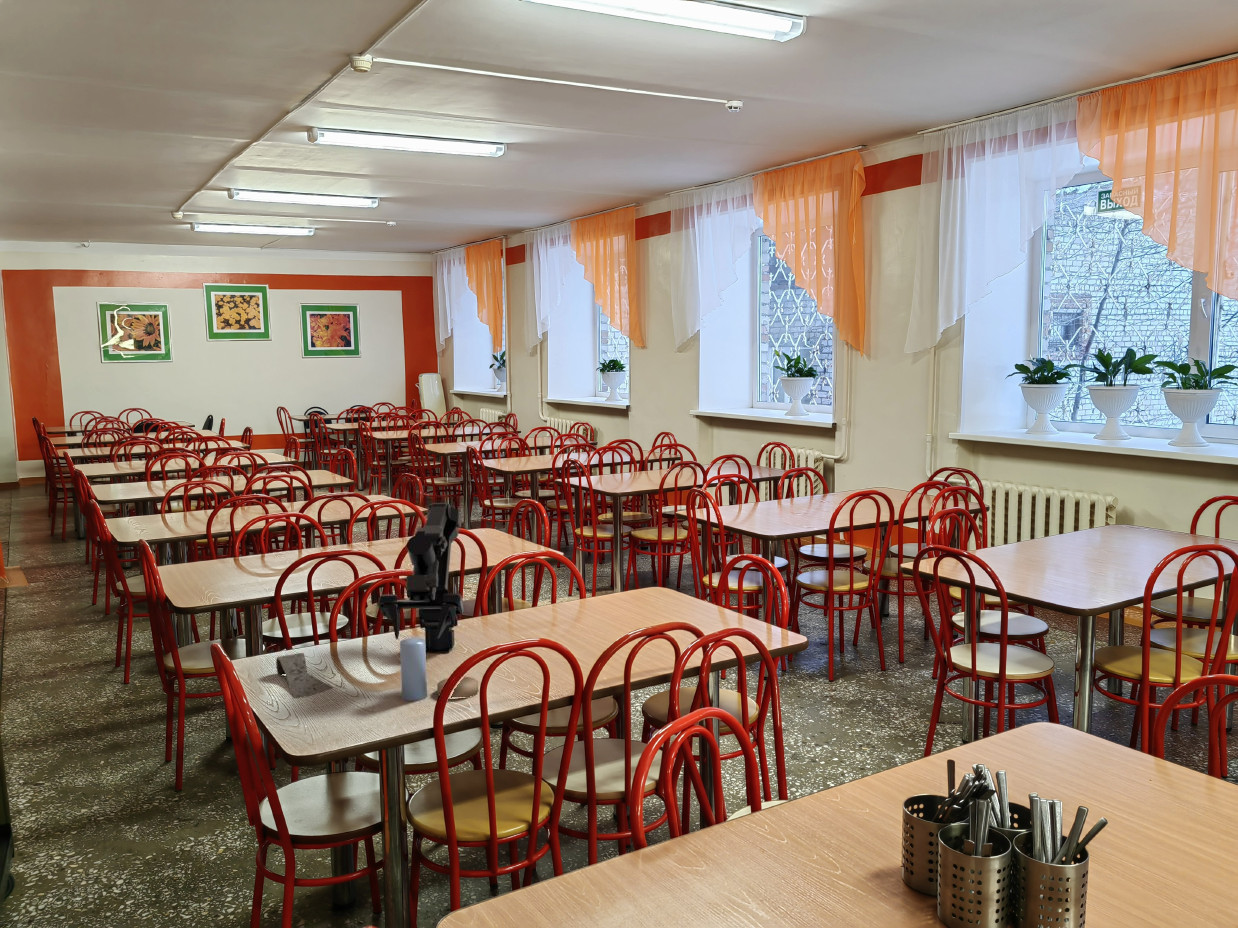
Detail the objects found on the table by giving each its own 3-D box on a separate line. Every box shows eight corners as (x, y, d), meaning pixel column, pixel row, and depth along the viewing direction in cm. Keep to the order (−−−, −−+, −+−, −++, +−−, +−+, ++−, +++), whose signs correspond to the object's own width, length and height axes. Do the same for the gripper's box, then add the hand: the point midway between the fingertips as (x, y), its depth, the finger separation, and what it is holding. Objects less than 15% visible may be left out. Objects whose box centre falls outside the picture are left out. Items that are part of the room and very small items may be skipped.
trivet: (432, 699, 205) (432, 690, 205) (443, 684, 214) (442, 676, 213) (473, 699, 204) (473, 690, 204) (482, 685, 213) (482, 676, 213)
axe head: (340, 684, 210) (295, 693, 205) (340, 704, 212) (295, 714, 206) (311, 647, 226) (269, 654, 221) (311, 666, 228) (269, 674, 222)
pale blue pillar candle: (398, 700, 204) (396, 645, 203) (406, 691, 209) (404, 637, 208) (423, 701, 204) (421, 645, 202) (429, 692, 209) (428, 637, 208)
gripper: (378, 560, 214) (368, 620, 204) (460, 559, 214) (454, 619, 204) (386, 585, 222) (377, 645, 213) (465, 584, 223) (460, 643, 213)
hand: (417, 637), depth 210 cm, fingers open, 9 cm apart
